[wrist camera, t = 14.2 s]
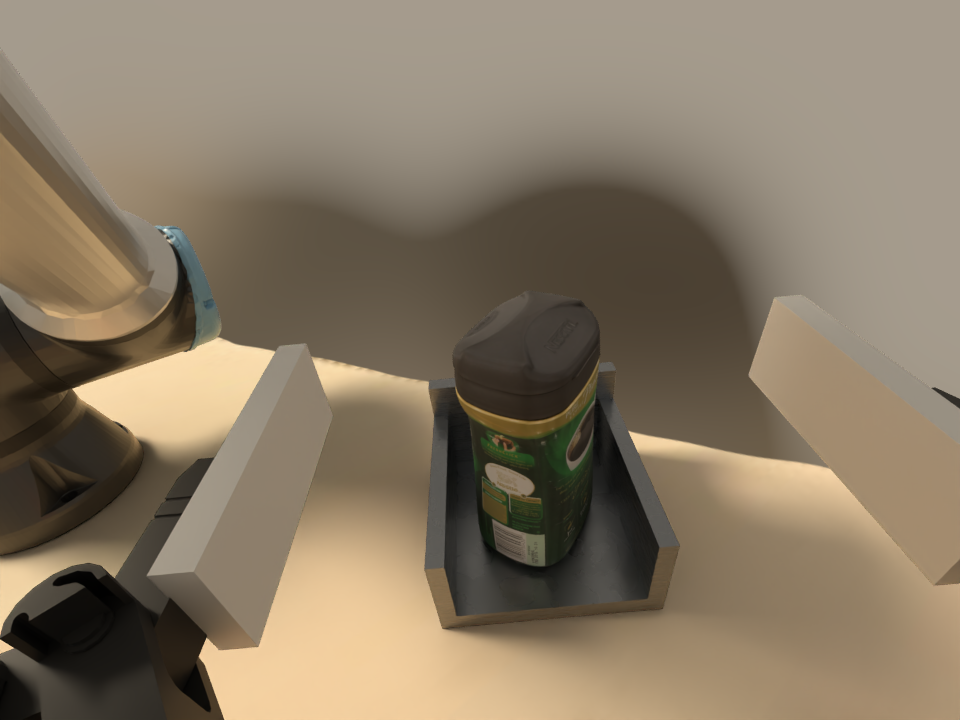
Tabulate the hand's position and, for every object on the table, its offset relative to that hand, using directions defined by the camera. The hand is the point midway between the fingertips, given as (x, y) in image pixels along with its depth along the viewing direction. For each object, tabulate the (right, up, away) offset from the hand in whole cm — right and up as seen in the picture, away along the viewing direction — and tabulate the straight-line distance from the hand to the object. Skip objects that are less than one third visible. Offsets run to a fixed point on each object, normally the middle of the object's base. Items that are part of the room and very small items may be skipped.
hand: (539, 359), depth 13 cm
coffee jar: (+3, -13, +23) cm, 27 cm away
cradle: (+3, -14, +24) cm, 28 cm away
